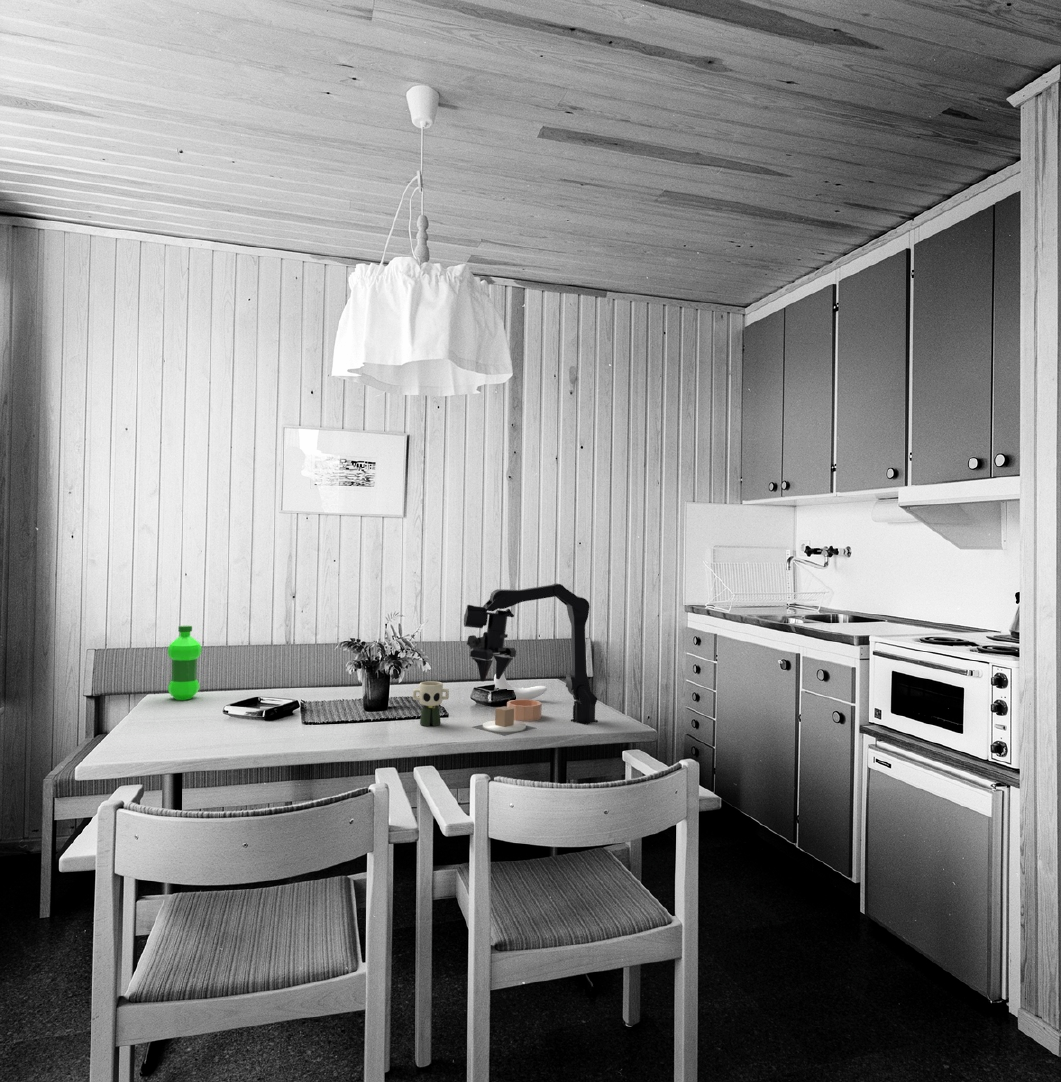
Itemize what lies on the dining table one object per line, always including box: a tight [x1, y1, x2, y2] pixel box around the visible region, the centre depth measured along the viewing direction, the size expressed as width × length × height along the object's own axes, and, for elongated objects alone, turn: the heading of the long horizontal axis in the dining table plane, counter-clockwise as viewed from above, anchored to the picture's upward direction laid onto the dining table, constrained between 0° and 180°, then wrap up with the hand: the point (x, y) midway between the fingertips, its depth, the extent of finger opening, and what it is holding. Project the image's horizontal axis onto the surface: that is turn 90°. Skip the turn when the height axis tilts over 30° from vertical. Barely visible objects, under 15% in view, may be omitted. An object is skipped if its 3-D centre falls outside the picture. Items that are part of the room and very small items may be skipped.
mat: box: [472, 724, 537, 736], centre depth 235 cm, size 14×14×1 cm
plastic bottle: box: [167, 625, 202, 701], centre depth 268 cm, size 10×10×25 cm
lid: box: [482, 706, 526, 733], centre depth 235 cm, size 13×13×6 cm
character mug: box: [412, 680, 450, 727], centre depth 237 cm, size 11×7×13 cm, turn 103°
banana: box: [493, 671, 548, 700], centre depth 277 cm, size 5×19×15 cm, turn 96°
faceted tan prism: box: [506, 699, 543, 722], centre depth 250 cm, size 11×11×5 cm
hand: (490, 680), depth 240 cm, fingers open, 9 cm apart
